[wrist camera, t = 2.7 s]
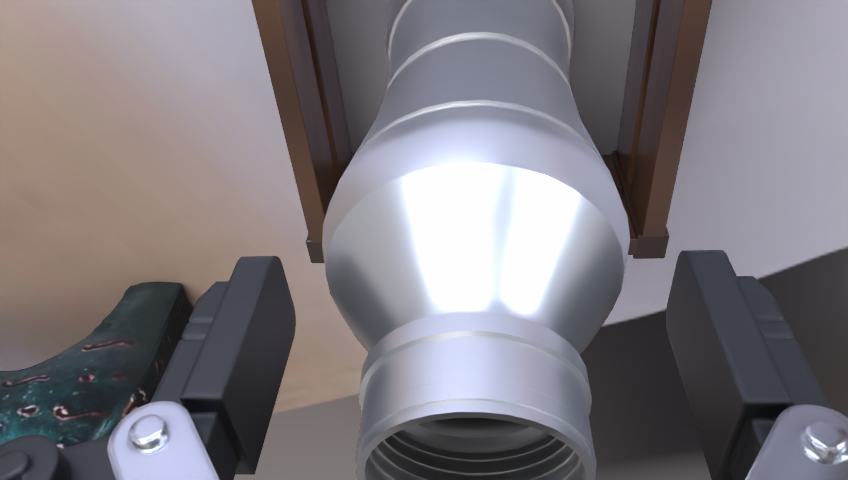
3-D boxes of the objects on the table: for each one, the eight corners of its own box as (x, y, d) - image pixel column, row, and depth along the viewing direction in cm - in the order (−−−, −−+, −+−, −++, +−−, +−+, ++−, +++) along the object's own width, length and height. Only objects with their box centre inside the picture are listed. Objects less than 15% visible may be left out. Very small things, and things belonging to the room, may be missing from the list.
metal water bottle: (570, 70, 27) (690, 571, 11) (409, 92, 28) (322, 574, 12) (563, -100, 23) (734, 319, 7) (375, -67, 24) (187, 357, 8)
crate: (255, -231, 21) (190, -212, 16) (705, -273, 19) (776, -264, 15) (335, 180, 31) (311, 263, 26) (636, 172, 30) (664, 259, 25)
